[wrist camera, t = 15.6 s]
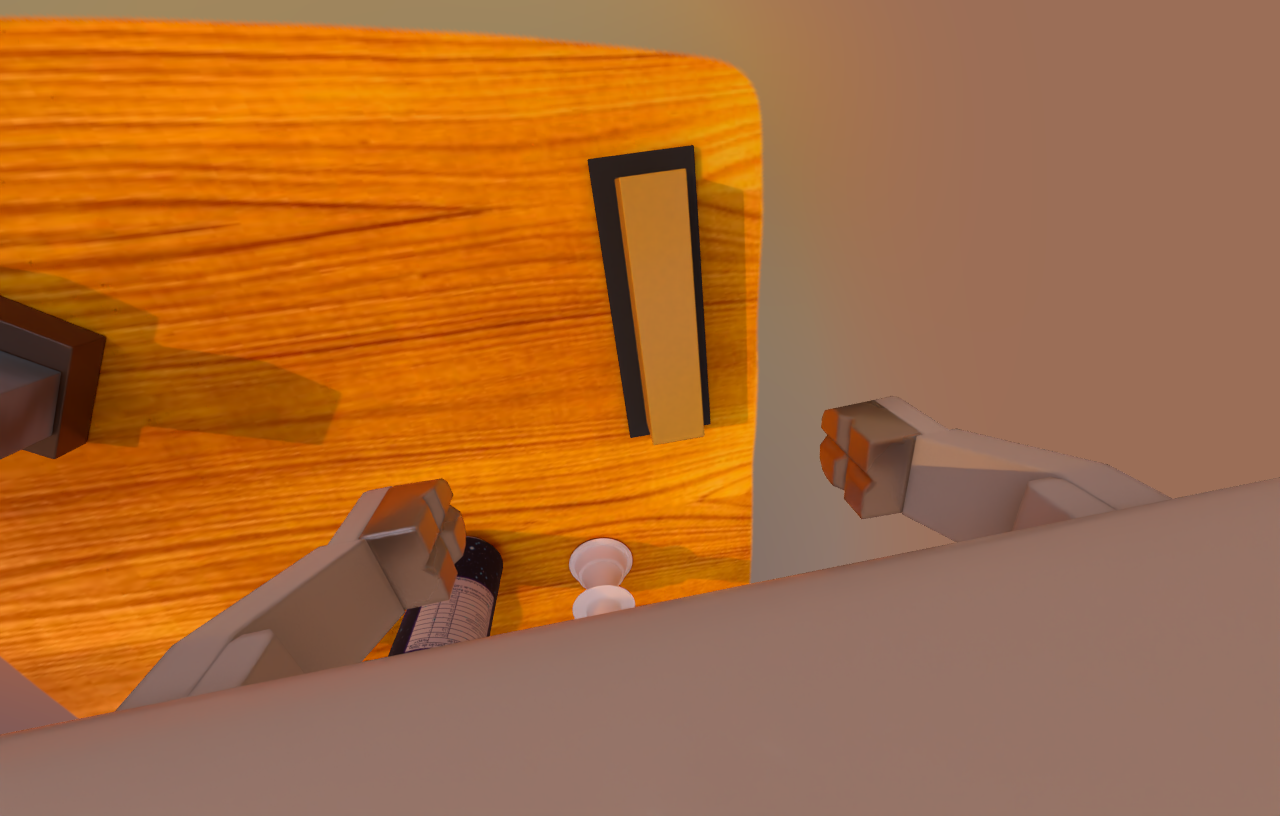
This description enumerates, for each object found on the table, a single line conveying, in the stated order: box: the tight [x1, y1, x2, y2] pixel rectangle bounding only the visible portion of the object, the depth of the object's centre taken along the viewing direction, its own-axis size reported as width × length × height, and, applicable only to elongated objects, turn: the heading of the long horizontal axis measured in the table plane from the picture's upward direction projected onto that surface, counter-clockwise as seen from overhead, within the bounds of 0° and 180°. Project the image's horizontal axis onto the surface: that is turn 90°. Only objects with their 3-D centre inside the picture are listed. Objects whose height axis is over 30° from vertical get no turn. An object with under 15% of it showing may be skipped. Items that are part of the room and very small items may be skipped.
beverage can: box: [388, 536, 503, 657], centre depth 31 cm, size 6×6×12 cm
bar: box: [615, 168, 704, 445], centre depth 28 cm, size 4×16×3 cm, turn 7°
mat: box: [588, 145, 710, 438], centre depth 29 cm, size 18×6×1 cm, turn 7°
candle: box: [569, 538, 635, 619], centre depth 33 cm, size 5×5×12 cm
